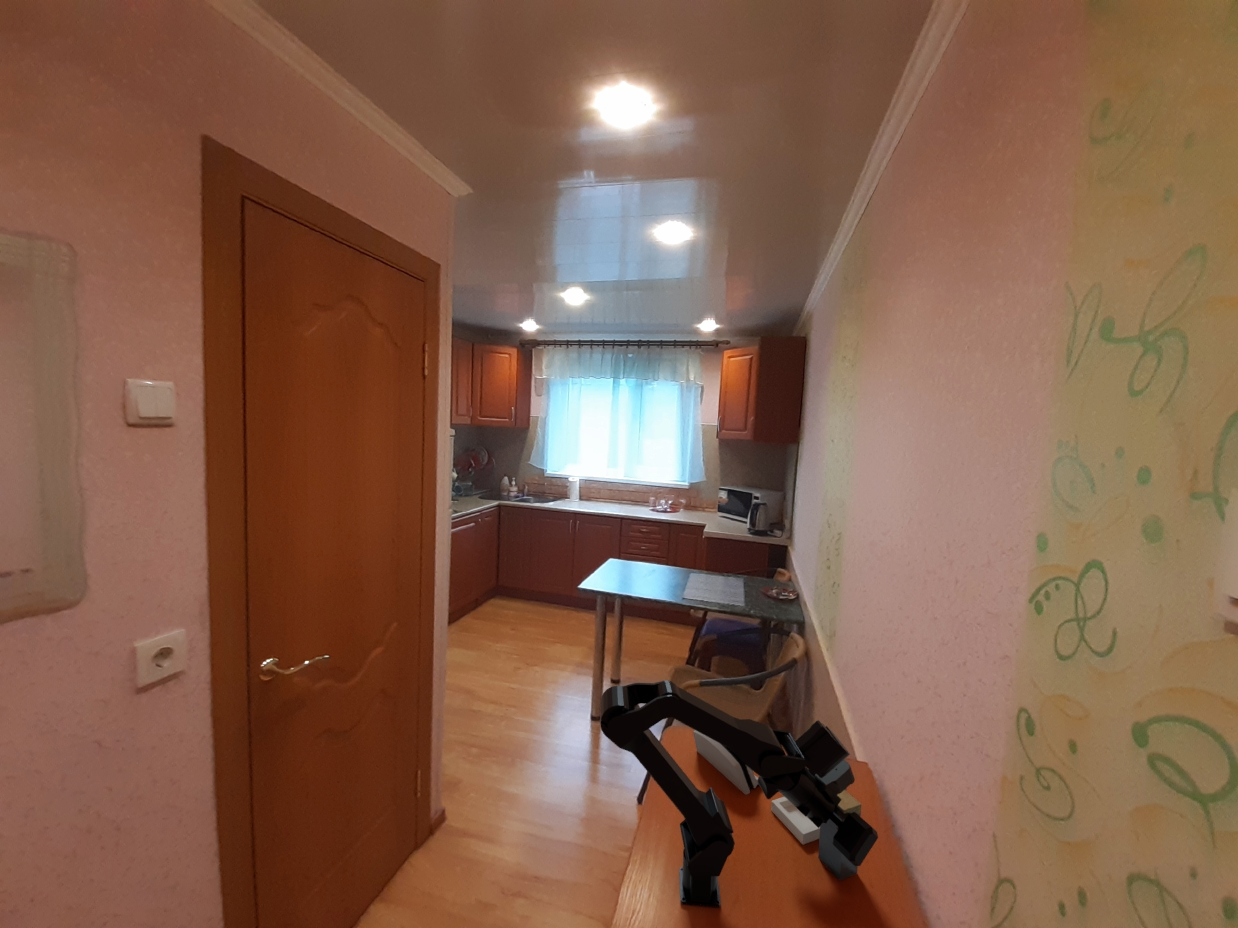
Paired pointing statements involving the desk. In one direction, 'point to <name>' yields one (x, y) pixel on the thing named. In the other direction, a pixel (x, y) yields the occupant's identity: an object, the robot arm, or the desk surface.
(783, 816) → the white square tray
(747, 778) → the white electronic device
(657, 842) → the desk surface
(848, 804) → the tan and grey block
